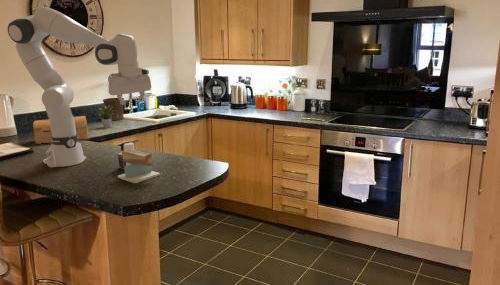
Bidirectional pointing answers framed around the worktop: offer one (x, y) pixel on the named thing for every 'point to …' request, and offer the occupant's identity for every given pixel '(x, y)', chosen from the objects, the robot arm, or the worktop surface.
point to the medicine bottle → (120, 157)
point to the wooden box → (44, 132)
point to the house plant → (106, 117)
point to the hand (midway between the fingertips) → (132, 103)
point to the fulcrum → (137, 173)
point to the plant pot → (118, 107)
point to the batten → (137, 158)
